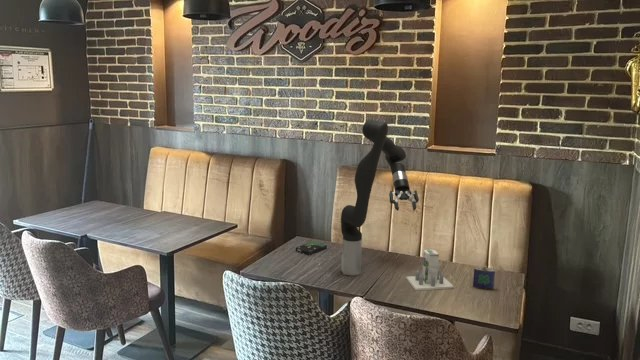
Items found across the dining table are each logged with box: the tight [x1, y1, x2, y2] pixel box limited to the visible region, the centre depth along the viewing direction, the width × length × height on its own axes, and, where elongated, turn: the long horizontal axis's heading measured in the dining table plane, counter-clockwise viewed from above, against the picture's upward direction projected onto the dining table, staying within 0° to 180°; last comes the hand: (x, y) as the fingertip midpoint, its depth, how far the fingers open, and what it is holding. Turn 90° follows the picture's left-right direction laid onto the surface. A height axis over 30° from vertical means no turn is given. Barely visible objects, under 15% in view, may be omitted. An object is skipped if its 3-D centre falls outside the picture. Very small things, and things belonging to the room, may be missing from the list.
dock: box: [405, 268, 454, 291], centre depth 243 cm, size 18×14×6 cm
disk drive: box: [295, 241, 328, 256], centre depth 287 cm, size 10×3×15 cm
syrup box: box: [421, 249, 440, 284], centre depth 242 cm, size 6×6×14 cm
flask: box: [472, 265, 496, 291], centre depth 238 cm, size 9×3×11 cm, turn 74°
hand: (406, 209), depth 257 cm, fingers open, 8 cm apart
